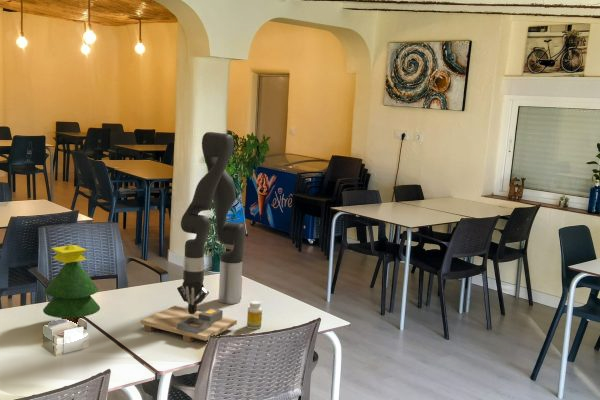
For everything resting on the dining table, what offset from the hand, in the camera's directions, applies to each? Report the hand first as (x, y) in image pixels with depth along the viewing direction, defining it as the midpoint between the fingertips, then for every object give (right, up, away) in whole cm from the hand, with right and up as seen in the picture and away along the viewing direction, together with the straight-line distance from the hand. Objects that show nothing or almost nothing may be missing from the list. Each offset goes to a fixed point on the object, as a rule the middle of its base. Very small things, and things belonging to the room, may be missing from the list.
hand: (192, 313), depth 237 cm
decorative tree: (-42, -3, -7) cm, 43 cm away
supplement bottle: (+23, -6, +3) cm, 24 cm away
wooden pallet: (0, -5, -4) cm, 6 cm away
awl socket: (+3, -3, -12) cm, 12 cm away
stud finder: (+7, -2, -4) cm, 8 cm away
